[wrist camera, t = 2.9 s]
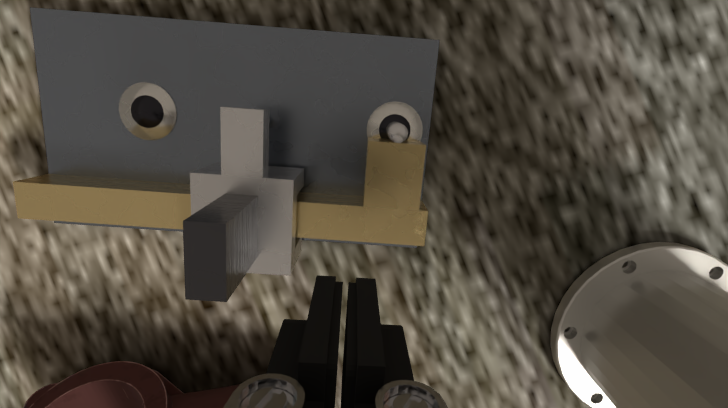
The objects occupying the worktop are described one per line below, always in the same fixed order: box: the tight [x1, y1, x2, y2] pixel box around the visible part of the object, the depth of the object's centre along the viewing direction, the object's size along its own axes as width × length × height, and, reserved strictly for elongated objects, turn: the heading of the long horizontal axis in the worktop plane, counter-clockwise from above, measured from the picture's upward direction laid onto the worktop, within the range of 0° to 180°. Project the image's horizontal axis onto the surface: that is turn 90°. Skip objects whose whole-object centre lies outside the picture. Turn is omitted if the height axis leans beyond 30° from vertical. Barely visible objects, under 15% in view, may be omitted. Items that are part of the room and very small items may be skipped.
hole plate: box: [30, 7, 439, 248], centre depth 24 cm, size 22×12×1 cm, turn 86°
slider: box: [183, 107, 304, 302], centre depth 19 cm, size 5×8×9 cm, turn 176°
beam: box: [13, 121, 428, 246], centre depth 22 cm, size 22×6×2 cm, turn 86°
